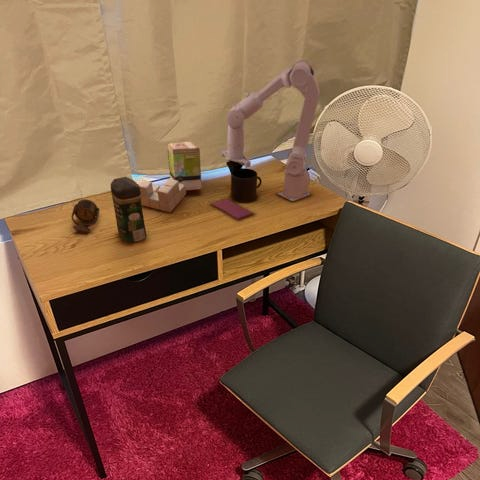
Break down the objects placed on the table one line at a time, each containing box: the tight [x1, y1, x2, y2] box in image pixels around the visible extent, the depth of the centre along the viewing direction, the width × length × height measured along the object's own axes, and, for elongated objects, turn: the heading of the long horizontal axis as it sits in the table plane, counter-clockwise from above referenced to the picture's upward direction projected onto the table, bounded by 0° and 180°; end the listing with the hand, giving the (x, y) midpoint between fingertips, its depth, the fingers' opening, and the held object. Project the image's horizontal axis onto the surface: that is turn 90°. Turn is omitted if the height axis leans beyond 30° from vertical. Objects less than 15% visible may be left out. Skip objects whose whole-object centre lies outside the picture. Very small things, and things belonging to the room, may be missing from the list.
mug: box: [230, 167, 263, 203], centre depth 173 cm, size 9×12×9 cm
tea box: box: [167, 141, 203, 191], centre depth 176 cm, size 15×10×15 cm, turn 16°
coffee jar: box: [110, 176, 147, 244], centre depth 145 cm, size 10×8×19 cm
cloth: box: [210, 198, 255, 221], centre depth 167 cm, size 7×15×1 cm, turn 40°
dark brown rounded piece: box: [71, 198, 101, 234], centre depth 155 cm, size 7×13×10 cm
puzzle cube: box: [137, 178, 187, 213], centre depth 167 cm, size 12×12×8 cm
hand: (235, 180), depth 177 cm, fingers closed
